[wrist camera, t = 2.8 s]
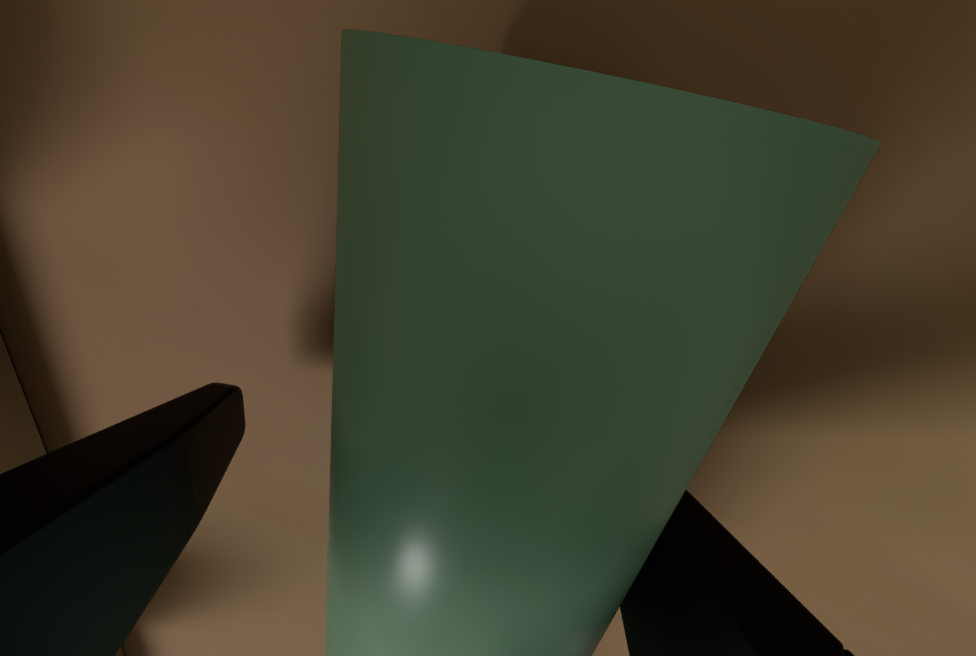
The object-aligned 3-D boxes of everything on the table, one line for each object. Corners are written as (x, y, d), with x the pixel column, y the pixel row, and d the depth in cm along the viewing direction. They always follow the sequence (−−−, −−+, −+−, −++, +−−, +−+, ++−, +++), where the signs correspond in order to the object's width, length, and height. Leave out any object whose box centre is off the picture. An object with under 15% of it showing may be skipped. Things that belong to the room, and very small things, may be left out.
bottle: (287, 23, 5) (578, 44, 1) (598, 96, 7) (962, 165, 4) (303, 738, 12) (352, 983, 9) (446, 656, 15) (524, 829, 12)
